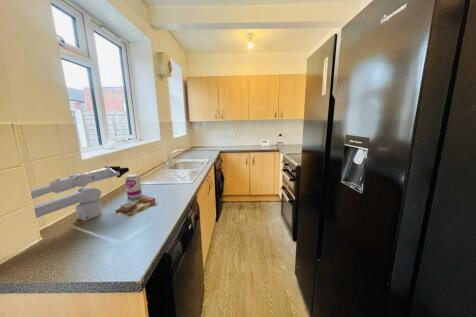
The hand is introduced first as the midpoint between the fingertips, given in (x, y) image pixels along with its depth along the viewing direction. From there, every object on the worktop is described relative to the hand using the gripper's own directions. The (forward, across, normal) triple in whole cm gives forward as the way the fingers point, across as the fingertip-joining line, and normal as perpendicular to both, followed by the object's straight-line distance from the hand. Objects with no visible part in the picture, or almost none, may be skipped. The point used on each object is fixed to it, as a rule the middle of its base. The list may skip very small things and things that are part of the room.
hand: (124, 168), depth 113 cm
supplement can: (+6, +3, +22) cm, 23 cm away
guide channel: (-5, -13, +21) cm, 25 cm away
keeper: (-9, -14, +20) cm, 26 cm away
